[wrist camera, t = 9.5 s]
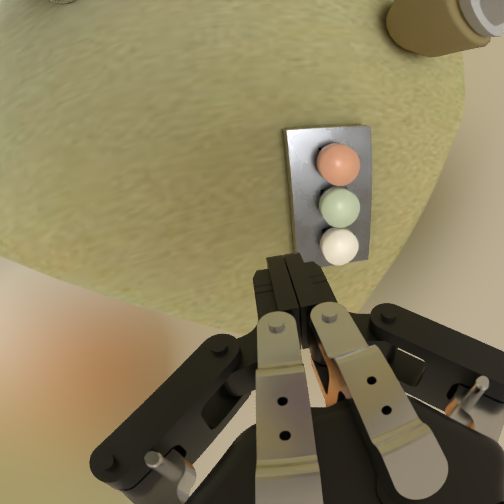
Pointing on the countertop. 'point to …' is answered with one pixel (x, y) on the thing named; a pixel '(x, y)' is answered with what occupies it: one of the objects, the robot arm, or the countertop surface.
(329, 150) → the terracotta button
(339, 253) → the ivory button
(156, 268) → the countertop surface
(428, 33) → the squeeze bottle
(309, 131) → the panel
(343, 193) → the sage button
